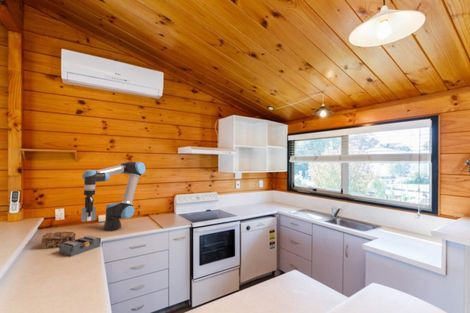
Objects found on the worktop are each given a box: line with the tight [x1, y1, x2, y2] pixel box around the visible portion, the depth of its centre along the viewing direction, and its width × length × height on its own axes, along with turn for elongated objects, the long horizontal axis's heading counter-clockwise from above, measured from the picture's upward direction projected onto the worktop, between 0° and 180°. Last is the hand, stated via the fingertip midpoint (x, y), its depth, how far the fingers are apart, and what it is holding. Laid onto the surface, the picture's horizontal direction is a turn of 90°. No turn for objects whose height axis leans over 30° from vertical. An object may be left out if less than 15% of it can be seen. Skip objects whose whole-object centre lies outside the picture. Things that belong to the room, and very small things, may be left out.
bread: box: [41, 231, 76, 250], centre depth 174 cm, size 19×11×10 cm, turn 112°
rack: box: [58, 234, 102, 257], centre depth 167 cm, size 21×14×7 cm, turn 157°
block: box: [80, 206, 97, 222], centre depth 183 cm, size 9×3×10 cm, turn 138°
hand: (88, 220), depth 183 cm, fingers closed on block, 3 cm apart
